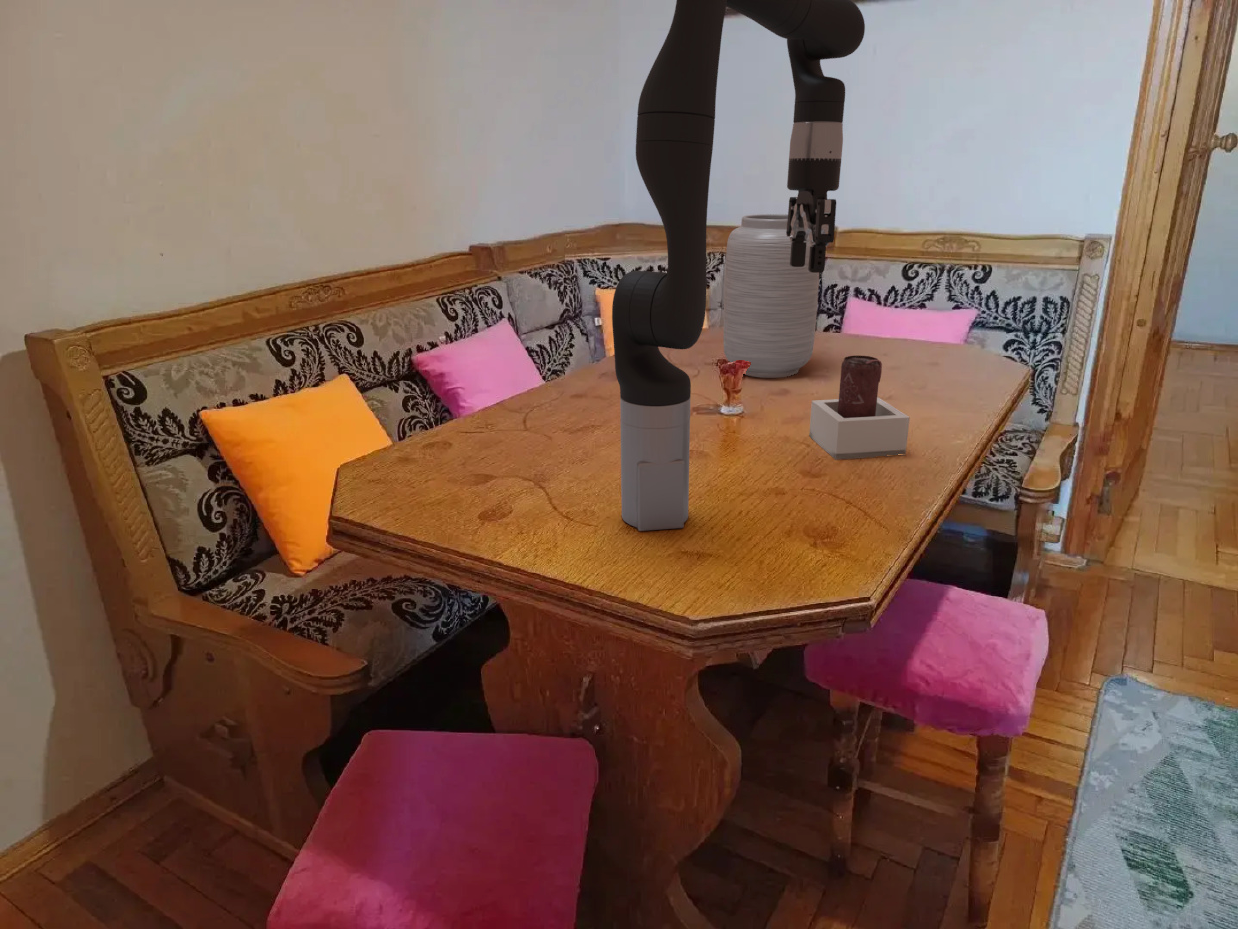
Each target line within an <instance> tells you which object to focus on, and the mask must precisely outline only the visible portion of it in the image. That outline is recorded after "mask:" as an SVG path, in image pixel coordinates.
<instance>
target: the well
mask: <svg viewBox="0 0 1238 929" xmlns="http://www.w3.org/2000/svg"><path fill="white" fill-rule="evenodd" d="M838 402H839V398H837V399H835V398H834V399H820V400H819V399H817V400H811V407H810V422H809V436H808V437H809V438H811V439H812V440H813V441H814V442H815V443H816V444H817V445H818V446H820V448H822V449H823V451H825V452H826V453H827V454H829V456H831V457H832V458H833V459H834V460H836V461H837V460H838V461H839V460H850V459H851V460H852V459H866V458H867V457H870V458H877V457H876V456H885V457H888V456H887V455H898V454H905V455H906V454H907V443H908V436H909V428H910V427H909V426H910V421H911V420H910V416H908V415H906V414H905V413H903V412H902V411H901V410H899V409H897V408H896V407H894V406H893V405H892V404H890V403H888V402H886V401H884V400H883V399H881V398H880V397H878V396H877V405H876V415H875V416H874V417H856V418H843V417H842V416H840V415H839V414H838Z"/></svg>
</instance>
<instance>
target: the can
mask: <svg viewBox="0 0 1238 929" xmlns="http://www.w3.org/2000/svg"><path fill="white" fill-rule="evenodd" d="M882 366H883V364H882V361H881V360H880V359H879V358H876V357H873V356H869V355H849V356H846V357H844V358H843V361H842V362H841V367H840V368H841V369H840V380H839V381H840V382H839V389H838V390H839V391H838V399H839V402H838V414H839V415H840V416H842V417H843V418H856V417H874V416H875V415H876V405H877V397H878V395H879V394H878V393H879V385H880V384H879V383H880V382H881V378H882V373H883V371H882V370H883V369H882V368H883V367H882Z"/></svg>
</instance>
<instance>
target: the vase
mask: <svg viewBox="0 0 1238 929" xmlns="http://www.w3.org/2000/svg"><path fill="white" fill-rule="evenodd" d="M787 221H788V214H786V213H785V214H784V213H783V214H782V213H779V214H777V213H776V214H775V213H774V214H773V213H772V214H771V213H770V214H769V213H767V214H750V215H744V216H742V218H741V225H740V226H739V227H737V228H734V229H733V230H732V231H731V232H730V234H729V236H728V238H727V242H726V255H725V267H724V268H725V269H724V270H725V273H724V274H725V275H724V294H723V295H724V297H723V298H724V301H723V303H724V304H723V334H722V335H723V337H722V338H723V351H724V352H723V353H724V355H725V357H726V360H727V361H728V362H729V361H730V362H733V361H736V360H745V361H749V362H751V365H750V367H749V368H748V369H747V371H746V374H745V375H744V376H748V377H753V378H761V379H779V378H780V379H781V378H787V376H788V377H792V376H795V375H796V374H798V373H799V370H800V368H802V367H804V366H805V365H807V363H808V362H809V361H810V359H811V357H812V355H813V351H814V346H815V338H816V326H817V312H818V300H819V286H820V284H819V283H820V273H812V272H809V270H808V266H809V254H810V246H811V245H810V239H809V235H808V237H807V240H806V241H804V242H806V256H805V265H804V266H803V267H793V266H791V265H790V256H791V243H792V241H790V236H787V234H786V231H787ZM798 222H799V221H798ZM730 362H729V363H730ZM794 374H795V375H794ZM791 375H792V376H791Z"/></svg>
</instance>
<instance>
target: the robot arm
mask: <svg viewBox="0 0 1238 929" xmlns="http://www.w3.org/2000/svg"><path fill="white" fill-rule="evenodd" d="M726 8H728V9H731V10H733V11H734V12H737V13H739V14H741V15H743V16H744V17H746V18H748V19H750V20H752V21H753V22H755V23H757V24H759V25H760V26H761V27H763V28H765V29H767V31H769V32H771V33H773V34H774V35H776V36H778V37H780V38H783V39H786V46H787V52H788V53H787V54H788V57H789V63H790V67H791V75H792V79H793V80H792V81H793V86H794V98H795V99H794V106H793V107H794V108H793V121H792V122H793V123H792V130H791V135H790V141H789V155H788V169H787V184H786V188H787V190H789V191H798V193H797V196H790V197H789V199H788V211H787V215H788V221H787V231H786V234H787V236H790V241H792V243H791V256H790V265H791V266H793V267H803V266H804V265H805V256H806V242H804V241H806V240H807V237H808V235H809V239H810V245H811V246H810V254H809V266H808V270H809V272H812V273H819V274H820V273H823V272H824V271H825V267H826V266H825V265H826V264H825V263H826V252H827V247H829V244H830V243H834V241H835V231H836V230H835V228H836V212H837V200H836V198H829V199H828V192H836V191H837V190H838V189H839V188H840V178H841V167H842V157H843V156H842V155H843V145H844V144H843V143H844V134H843V132H844V130H843V129H844V128H843V126H844V124H843V123H844V122H843V121H844V113H845V103H846V101H845V100H846V85H845V82H843V81H842V80H841V79H839V78H836V77H832V76H825V75H824V72H823V69H822V65H821V61H822V60H830V59H840V58H845V57H847V56H850V55H852V54H853V53H855V51H856V50H857V49H858V48H859V47H860V45H861V44H862V42H863V39H864V36H865V31H866V30H865V29H866V26H865V25H866V24H865V18H864V16H863V15H864V14H863V13H862V11H861V9H860V7H858V5H857V4H856V3H855V2H854V1H853V0H676V2H675V9H674V13H673V18H672V21H671V25H670V28H669V30H668V33H667V36H666V38H665V39H664V42H663V44H662V46H661V48H660V50H659V51H658V54H657V56H656V58H655V60H654V62H653V65H652V66H651V68H650V71H649V73H648V75H647V76H646V79H645V81H644V84H643V86H642V90H641V92H640V96H639V98H638V99H639V100H638V103H637V104H638V105H637V117H636V133H635V134H636V136H635V137H636V138H635V159H636V164H637V168H638V170H639V171H638V172H639V174H640V176H641V178H642V181H643V183H644V185H645V187H646V190H647V192H648V194H649V196H650V198H651V200H652V201H653V204H654V206H655V208H656V210H657V212H658V214H659V217H660V220H661V222H662V226H663V229H664V233H665V238H666V246H667V249H666V250H667V272H661V271H649V270H647V271H646V270H632V271H628V272H626V273H625V274H624V275H623V276H622V277H621V278H620V279H619V281H618V283H617V284H616V287H615V291H614V293H613V299H612V306H611V309H612V310H611V322H612V323H611V324H612V338H613V339H612V341H613V350H614V351H613V352H614V353H613V355H614V367H615V368H614V369H615V376H616V380H617V382H618V384H619V385H618V386H619V395H620V396H619V397H620V398H619V399H620V402H619V403H620V404H619V406H620V408H619V409H620V410H619V411H620V487H621V488H620V489H621V490H620V491H621V517H622V520H623V522H624V523H626V524H628V525H630V526H632V527H634V528H636V529H637V530H638V531H639V532H645V531H657V530H668V529H670V530H671V529H683V528H684V527H685V526H684V525H685V524H684V523H686V521H687V520H688V519H689V500H690V499H689V497H690V495H689V494H690V491H689V490H690V486H689V485H690V484H689V483H690V442H691V440H690V437H691V436H690V435H691V427H690V426H691V398H692V397H691V396H692V392H691V391H692V390H691V389H692V386H691V384H692V383H691V378H690V376H689V375H688V374H687V372H685V371H684V370H682V369H681V368H679V367H678V366H676V365H675V364H673V363H671V362H670V360H668V359H667V358H666V357H665V356H664V354H663V353H662V352H661V351H660V349H659V348H665V349H673V350H687V349H690V348H692V347H693V346H694V345H695V344H696V343H697V342H698V340H699V338H700V337H701V335H702V334H701V333H702V331H703V327H704V325H705V321H706V320H705V317H706V310H707V289H708V288H707V284H708V282H707V279H708V278H707V220H708V203H709V192H710V190H709V189H710V188H709V187H710V179H711V178H710V177H711V166H712V157H713V149H714V148H713V147H714V136H715V126H716V125H715V124H716V122H715V121H716V120H715V119H716V100H717V99H716V98H717V88H718V87H717V85H718V77H719V76H718V75H719V67H720V66H719V64H720V57H721V56H720V54H721V44H722V35H723V29H724V21H725V16H726V15H725V14H726ZM798 221H799V222H798Z"/></svg>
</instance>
